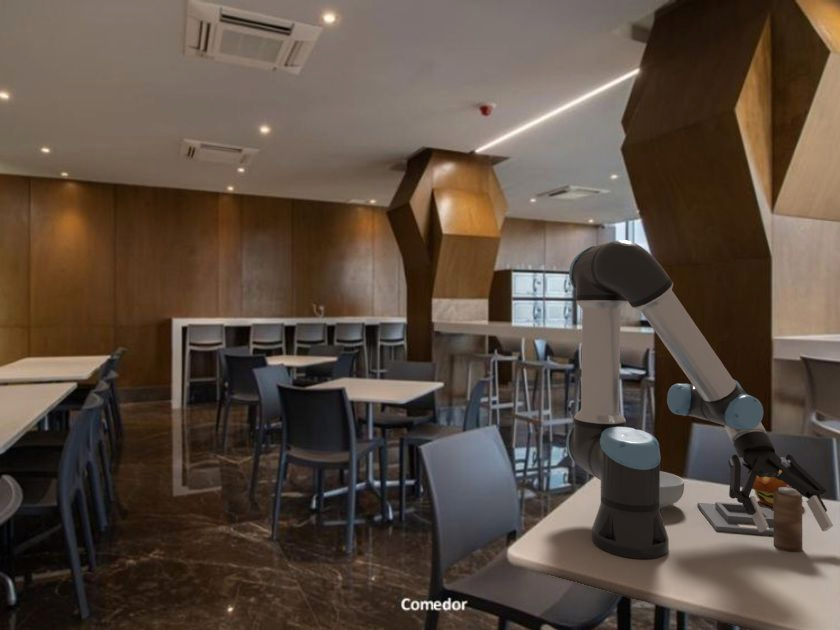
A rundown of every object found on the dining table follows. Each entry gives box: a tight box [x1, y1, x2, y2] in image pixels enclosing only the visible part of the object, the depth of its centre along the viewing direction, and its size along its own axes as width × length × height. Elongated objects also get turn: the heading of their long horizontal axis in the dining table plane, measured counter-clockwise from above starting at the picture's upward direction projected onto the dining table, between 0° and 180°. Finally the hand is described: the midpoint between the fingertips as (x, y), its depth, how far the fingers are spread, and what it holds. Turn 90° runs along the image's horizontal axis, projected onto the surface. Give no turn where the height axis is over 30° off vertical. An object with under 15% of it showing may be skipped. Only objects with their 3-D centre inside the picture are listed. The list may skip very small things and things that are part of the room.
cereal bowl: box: [659, 470, 685, 510], centre depth 141 cm, size 17×17×7 cm
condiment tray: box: [697, 501, 774, 537], centre depth 130 cm, size 16×16×2 cm
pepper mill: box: [772, 487, 803, 553], centre depth 115 cm, size 5×5×12 cm
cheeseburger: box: [752, 470, 804, 508], centre depth 141 cm, size 10×11×10 cm
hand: (796, 529), depth 113 cm, fingers open, 13 cm apart
